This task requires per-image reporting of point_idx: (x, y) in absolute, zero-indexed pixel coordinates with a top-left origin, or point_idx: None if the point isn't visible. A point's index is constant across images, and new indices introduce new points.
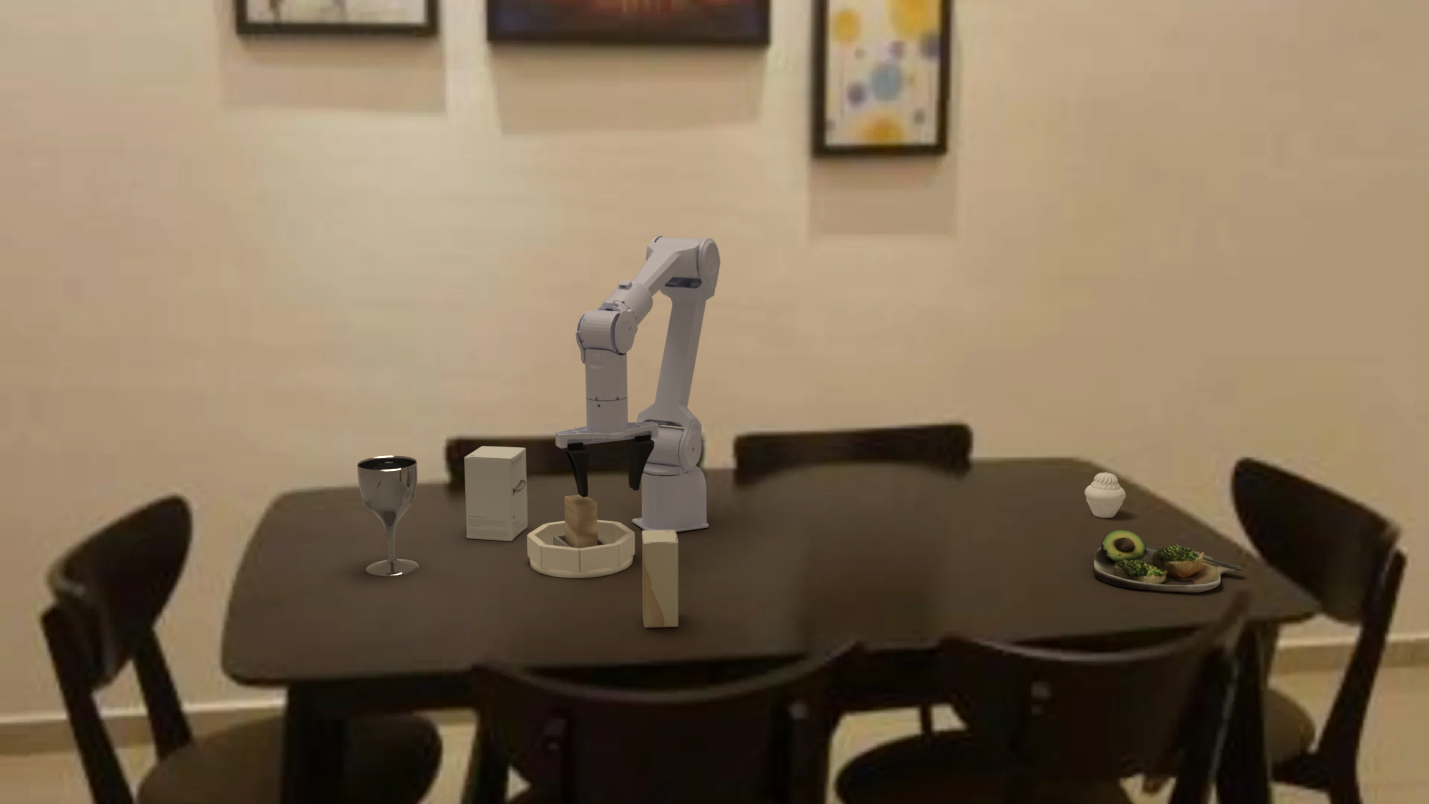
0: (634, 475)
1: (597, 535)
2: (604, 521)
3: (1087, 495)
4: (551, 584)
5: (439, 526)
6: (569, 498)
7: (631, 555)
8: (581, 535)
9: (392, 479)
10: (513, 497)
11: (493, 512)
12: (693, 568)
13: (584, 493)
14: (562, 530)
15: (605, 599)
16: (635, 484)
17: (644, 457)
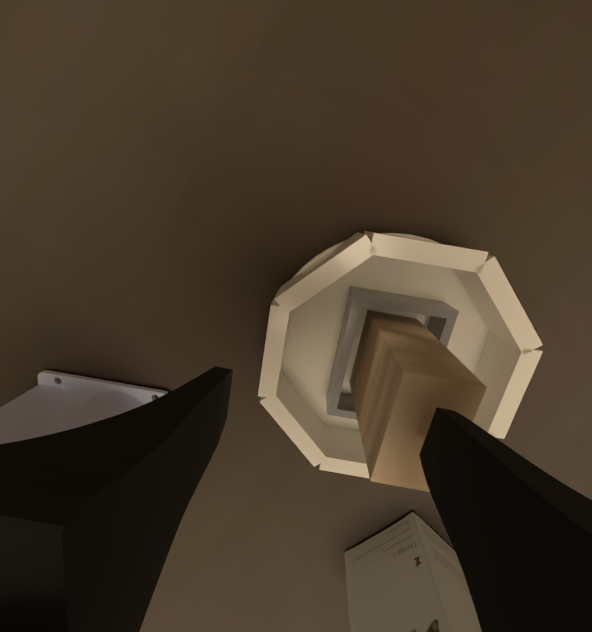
0: (208, 412)
1: (378, 327)
2: (286, 422)
3: None
4: (526, 253)
5: None
6: None
7: (297, 274)
8: (426, 339)
9: None
10: (433, 613)
11: (458, 591)
12: (196, 151)
13: (462, 415)
14: None
15: (507, 68)
16: (225, 375)
17: (107, 434)
